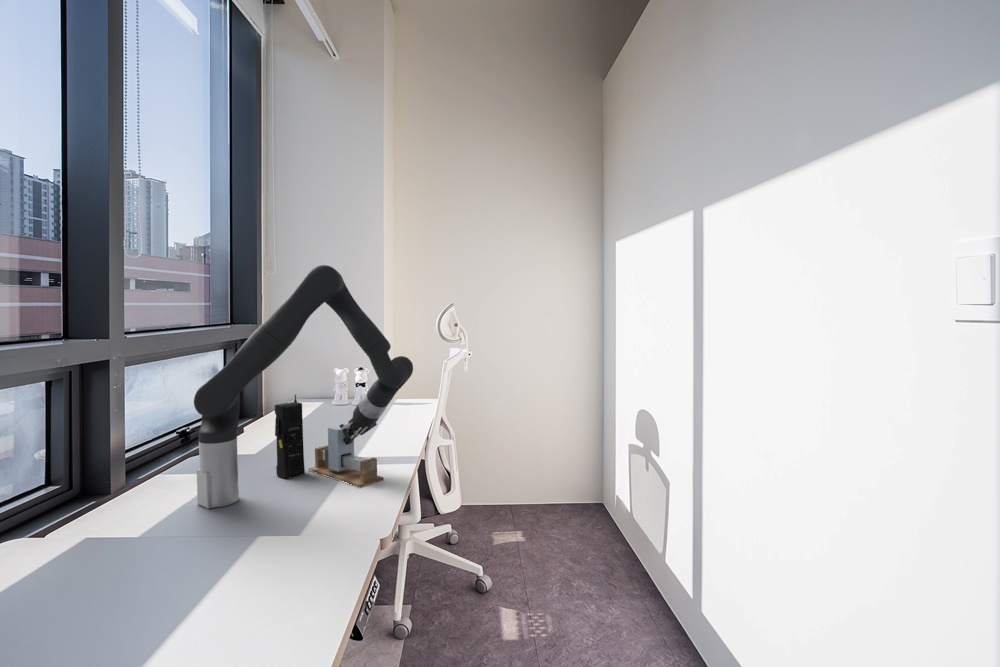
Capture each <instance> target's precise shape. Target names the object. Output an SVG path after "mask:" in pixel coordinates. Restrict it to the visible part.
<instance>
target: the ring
mask: <svg viewBox="0 0 1000 667" xmlns="http://www.w3.org/2000/svg"><path fill="white" fill-rule="evenodd" d="M325 468H328V469H329V460H328V448H326V449H325Z"/></svg>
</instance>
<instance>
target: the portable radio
mask: <svg viewBox="0 0 1000 667" xmlns="http://www.w3.org/2000/svg"><path fill="white" fill-rule="evenodd" d="M274 414H275V425H274V428H275V429H274V436H275V437H276V467H275V468H276V469H275V470H276V476H277V477H279V478H281V477H282V478H281V479H284V478H285V480H287V478H288V479H291V478H294V476H295V477H298V476H297V475H299V476H301V475H300V474H302V475H304V474H306V472H305V470H306V468H305V456H304V455H305V454H304V429H303V428H304V426H303V423H304V422H303V403H302V402H298V400H297V394H294V400H293V401H292V402H285V403H279V404H274ZM290 477H291V478H290Z"/></svg>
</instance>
